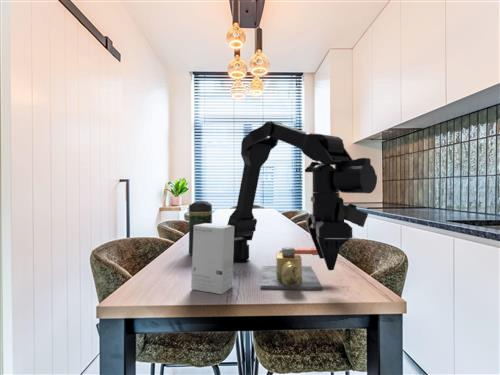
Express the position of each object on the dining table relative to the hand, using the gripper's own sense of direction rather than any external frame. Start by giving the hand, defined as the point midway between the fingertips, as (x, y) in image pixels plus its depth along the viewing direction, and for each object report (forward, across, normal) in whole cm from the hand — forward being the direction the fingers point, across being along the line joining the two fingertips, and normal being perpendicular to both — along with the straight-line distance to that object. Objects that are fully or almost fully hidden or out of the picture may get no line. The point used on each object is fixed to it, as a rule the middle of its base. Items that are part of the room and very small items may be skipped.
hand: (326, 263), depth 62 cm
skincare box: (+7, +2, +26) cm, 27 cm away
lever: (+1, +10, +3) cm, 11 cm away
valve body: (+7, +10, +8) cm, 14 cm away
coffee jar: (+7, +36, +36) cm, 52 cm away
